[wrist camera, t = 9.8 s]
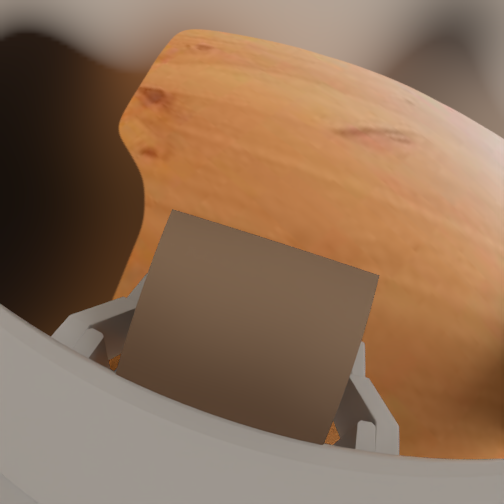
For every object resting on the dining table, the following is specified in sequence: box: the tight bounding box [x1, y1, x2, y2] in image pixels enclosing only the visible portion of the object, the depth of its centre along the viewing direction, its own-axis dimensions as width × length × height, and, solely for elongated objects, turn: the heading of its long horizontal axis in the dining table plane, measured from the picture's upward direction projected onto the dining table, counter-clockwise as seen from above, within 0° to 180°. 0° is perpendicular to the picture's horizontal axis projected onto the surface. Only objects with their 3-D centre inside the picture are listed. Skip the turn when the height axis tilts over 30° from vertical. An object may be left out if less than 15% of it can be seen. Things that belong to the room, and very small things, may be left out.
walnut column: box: [116, 209, 379, 445], centre depth 12 cm, size 5×5×10 cm
